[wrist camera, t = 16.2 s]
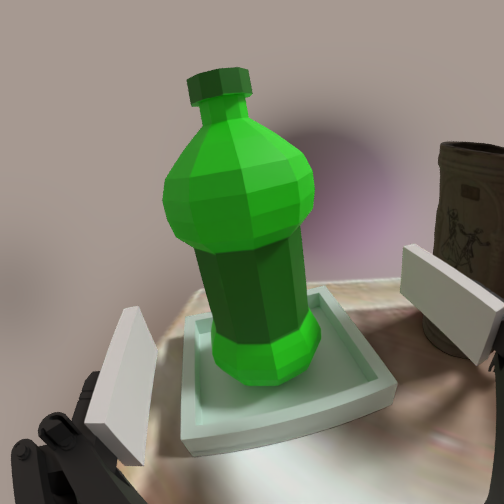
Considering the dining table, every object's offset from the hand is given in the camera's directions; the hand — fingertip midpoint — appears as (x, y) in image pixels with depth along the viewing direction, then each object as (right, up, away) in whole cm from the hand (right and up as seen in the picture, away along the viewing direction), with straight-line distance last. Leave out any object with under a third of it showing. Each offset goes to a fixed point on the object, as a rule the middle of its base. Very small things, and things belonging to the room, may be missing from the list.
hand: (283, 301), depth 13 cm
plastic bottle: (0, -9, +13) cm, 16 cm away
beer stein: (+23, -7, +10) cm, 26 cm away
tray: (+1, -9, +14) cm, 17 cm away
